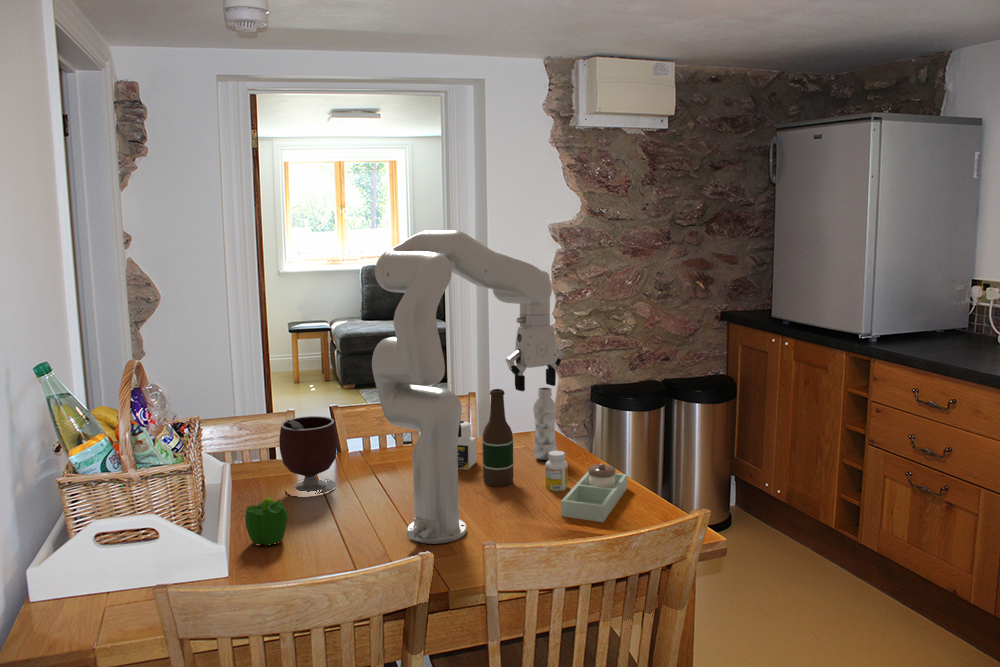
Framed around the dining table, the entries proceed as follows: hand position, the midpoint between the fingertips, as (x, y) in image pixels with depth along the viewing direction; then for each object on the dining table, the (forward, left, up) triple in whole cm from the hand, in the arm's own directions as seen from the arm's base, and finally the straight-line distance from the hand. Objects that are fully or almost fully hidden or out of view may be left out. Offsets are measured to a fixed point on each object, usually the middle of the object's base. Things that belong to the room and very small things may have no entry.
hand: (535, 387), depth 191 cm
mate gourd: (-27, +50, -24) cm, 62 cm away
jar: (-7, -19, -23) cm, 31 cm away
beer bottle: (-5, +8, -24) cm, 26 cm away
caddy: (-12, -19, -24) cm, 33 cm away
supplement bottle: (-6, -8, -24) cm, 26 cm away
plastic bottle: (+17, +3, -24) cm, 30 cm away
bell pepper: (-56, +39, -24) cm, 73 cm away
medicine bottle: (+4, +23, -24) cm, 34 cm away
